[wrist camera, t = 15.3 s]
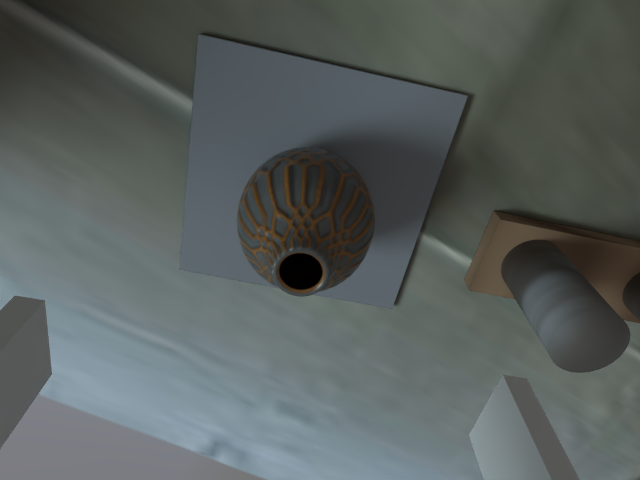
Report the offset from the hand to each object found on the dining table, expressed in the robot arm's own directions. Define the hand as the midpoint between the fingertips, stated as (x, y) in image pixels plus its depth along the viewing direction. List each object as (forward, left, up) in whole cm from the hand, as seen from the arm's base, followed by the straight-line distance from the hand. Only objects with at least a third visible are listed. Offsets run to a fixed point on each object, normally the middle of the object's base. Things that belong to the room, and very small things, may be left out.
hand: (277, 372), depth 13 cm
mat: (0, 0, -15) cm, 15 cm away
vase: (0, 0, -15) cm, 15 cm away
